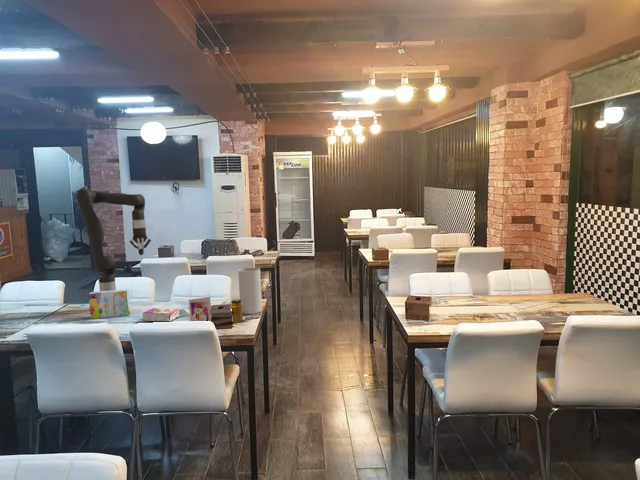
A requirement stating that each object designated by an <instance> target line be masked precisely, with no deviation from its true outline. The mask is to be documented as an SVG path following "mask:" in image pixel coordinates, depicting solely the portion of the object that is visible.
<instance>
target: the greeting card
mask: <svg viewBox="0 0 640 480" xmlns="http://www.w3.org/2000/svg"><path fill="white" fill-rule="evenodd" d="M211 304H212V303H211V296H207V297H200V298H192V299H188V306H189V307H188V309H189V310H188V311H189V315H190V316H189V322H190V321H208V320H210V321H211V318H212V313H211V314H210V310H211V311H212V307H211V306H212V305H211Z"/></svg>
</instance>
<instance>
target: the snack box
mask: <svg viewBox="0 0 640 480" xmlns="http://www.w3.org/2000/svg"><path fill="white" fill-rule="evenodd" d="M88 302H89V303H88V304H89V313H90V319H92V320H93V319H103V318H117V317H125V316H126V317H127V316H130V314H131V307H130V294H129V289H128V288H127V289H125V288H124V289H116V290H111V291H100V290H99V291H91V292H89V293H88Z"/></svg>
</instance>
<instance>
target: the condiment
mask: <svg viewBox="0 0 640 480" xmlns="http://www.w3.org/2000/svg"><path fill="white" fill-rule="evenodd" d="M230 302H231V305H230V310H231V309H232V316H233V323H232V324H234V325H239V324H242V323H245V322H248V321H249V319H244V315H243V311H242V305H241V300H240V298H239V299H231V301H230ZM232 316H231V317H232Z"/></svg>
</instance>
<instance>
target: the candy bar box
mask: <svg viewBox="0 0 640 480" xmlns="http://www.w3.org/2000/svg"><path fill="white" fill-rule="evenodd" d="M179 310H180V309H179V308H164V307H163V308H162V307H161V308H160V307H158V308H157V307H154V308H150V309H148V310H146V311H144V312H142V319H143V320H142V321H143V322H169V321H170V322H172V321H173V320H175V319H178V318H177V317H179Z"/></svg>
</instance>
